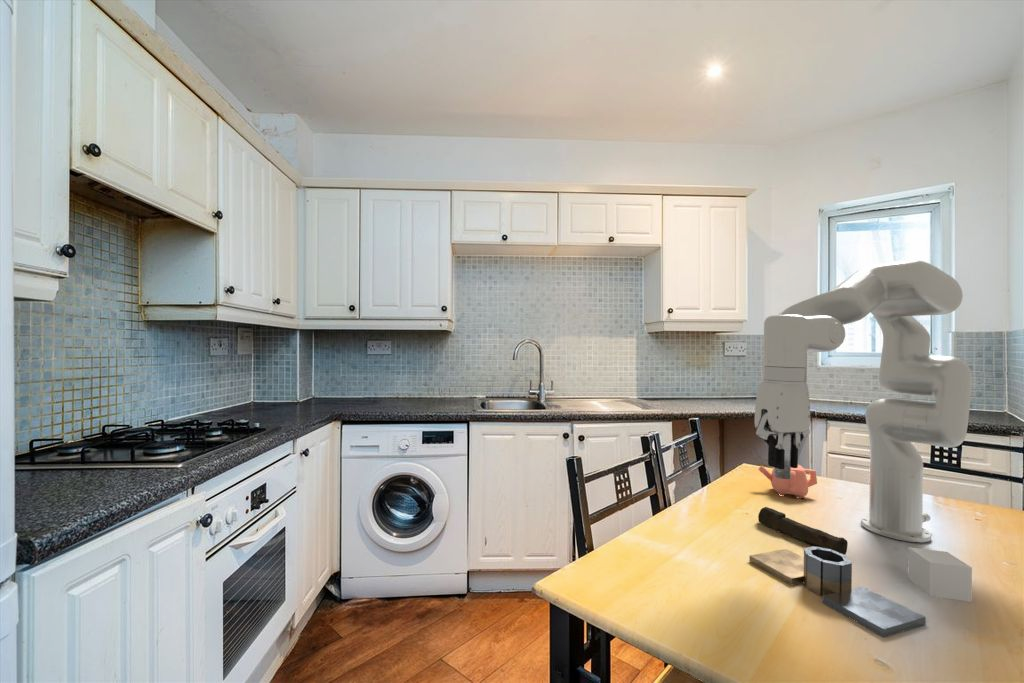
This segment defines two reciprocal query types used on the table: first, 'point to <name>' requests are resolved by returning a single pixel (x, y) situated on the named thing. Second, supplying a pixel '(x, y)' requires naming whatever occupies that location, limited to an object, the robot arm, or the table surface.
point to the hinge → (839, 588)
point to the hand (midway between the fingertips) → (782, 466)
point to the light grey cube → (940, 574)
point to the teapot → (792, 481)
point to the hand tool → (801, 530)
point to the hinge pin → (786, 446)
